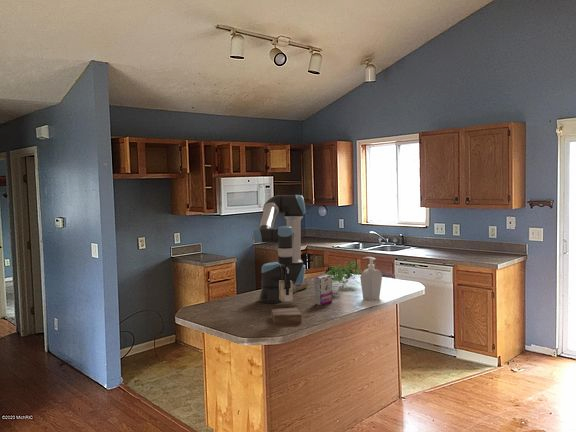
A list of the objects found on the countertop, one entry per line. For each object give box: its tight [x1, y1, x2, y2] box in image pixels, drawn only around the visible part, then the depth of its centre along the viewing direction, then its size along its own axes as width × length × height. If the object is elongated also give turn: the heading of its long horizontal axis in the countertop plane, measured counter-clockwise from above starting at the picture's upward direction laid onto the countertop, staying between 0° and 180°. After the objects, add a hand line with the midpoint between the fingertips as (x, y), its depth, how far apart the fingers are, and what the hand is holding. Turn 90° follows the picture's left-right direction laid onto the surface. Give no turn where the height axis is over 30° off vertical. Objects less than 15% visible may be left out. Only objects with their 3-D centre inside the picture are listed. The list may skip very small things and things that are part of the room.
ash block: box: [279, 280, 294, 303], centre depth 268 cm, size 6×6×10 cm
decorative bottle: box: [293, 278, 309, 294], centre depth 337 cm, size 26×8×7 cm, turn 148°
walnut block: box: [270, 307, 302, 326], centre depth 270 cm, size 14×14×5 cm
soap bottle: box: [359, 256, 383, 301], centre depth 314 cm, size 12×10×26 cm
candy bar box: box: [314, 274, 333, 306], centre depth 304 cm, size 11×5×16 cm, turn 137°
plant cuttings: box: [325, 260, 361, 292], centre depth 339 cm, size 35×17×22 cm
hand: (285, 299), depth 269 cm, fingers closed on ash block, 6 cm apart
